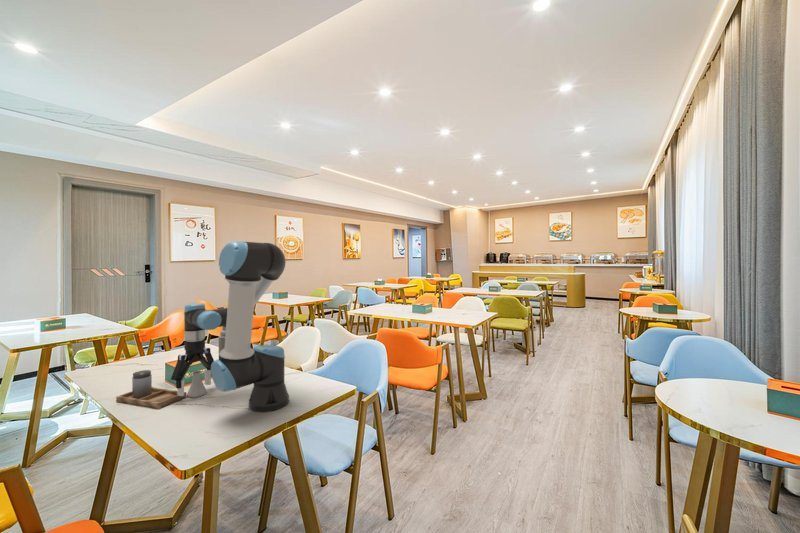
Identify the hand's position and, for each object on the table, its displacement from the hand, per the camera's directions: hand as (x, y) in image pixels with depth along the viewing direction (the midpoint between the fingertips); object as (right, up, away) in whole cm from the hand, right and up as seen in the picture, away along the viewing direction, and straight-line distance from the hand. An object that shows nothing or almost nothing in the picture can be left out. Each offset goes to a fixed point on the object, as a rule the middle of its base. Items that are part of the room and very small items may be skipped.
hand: (194, 389), depth 143 cm
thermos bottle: (+7, -2, +15) cm, 17 cm away
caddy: (-15, -2, -5) cm, 16 cm away
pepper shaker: (-20, -2, -3) cm, 20 cm away
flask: (+1, -3, +1) cm, 3 cm away
